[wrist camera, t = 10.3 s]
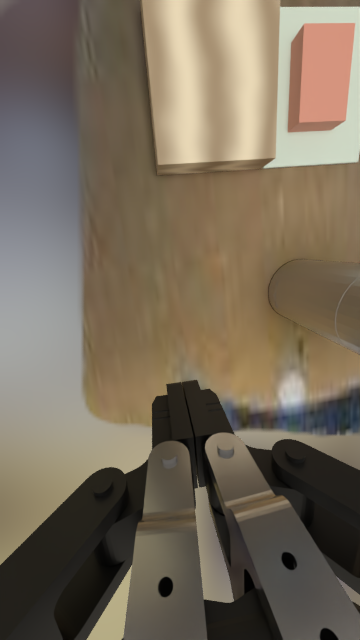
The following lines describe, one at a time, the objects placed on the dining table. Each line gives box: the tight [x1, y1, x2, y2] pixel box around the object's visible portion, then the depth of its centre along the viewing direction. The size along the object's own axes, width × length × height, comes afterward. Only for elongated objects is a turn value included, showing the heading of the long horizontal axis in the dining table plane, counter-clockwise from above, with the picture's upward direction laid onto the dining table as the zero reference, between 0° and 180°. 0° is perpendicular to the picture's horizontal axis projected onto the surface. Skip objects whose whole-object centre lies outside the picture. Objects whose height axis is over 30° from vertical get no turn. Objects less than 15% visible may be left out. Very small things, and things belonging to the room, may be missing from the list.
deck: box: [140, 0, 280, 175], centre depth 27 cm, size 14×16×4 cm
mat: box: [262, 7, 360, 169], centre depth 30 cm, size 14×16×1 cm
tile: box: [288, 23, 355, 132], centre depth 28 cm, size 6×9×2 cm, turn 5°
